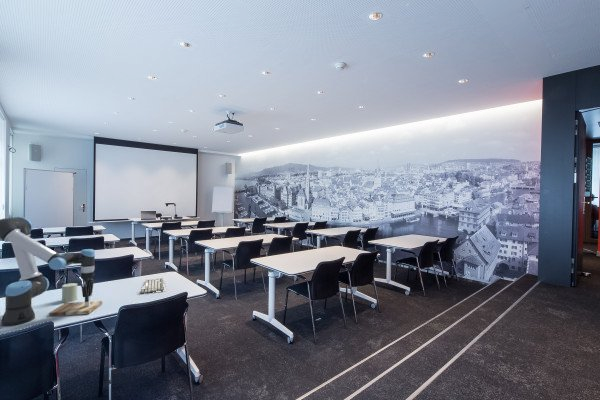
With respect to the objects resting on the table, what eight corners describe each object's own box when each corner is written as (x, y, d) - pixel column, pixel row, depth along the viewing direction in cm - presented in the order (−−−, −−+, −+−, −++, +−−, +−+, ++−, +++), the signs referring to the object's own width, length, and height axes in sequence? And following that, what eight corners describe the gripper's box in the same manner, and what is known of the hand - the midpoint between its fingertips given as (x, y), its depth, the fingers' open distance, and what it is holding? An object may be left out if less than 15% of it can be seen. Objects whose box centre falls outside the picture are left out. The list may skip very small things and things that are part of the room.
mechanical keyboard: (141, 282, 266) (141, 279, 266) (164, 280, 275) (164, 277, 275) (140, 295, 232) (140, 291, 232) (166, 292, 241) (166, 288, 241)
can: (59, 302, 211) (59, 286, 211) (65, 298, 220) (65, 282, 220) (73, 301, 214) (74, 285, 214) (79, 297, 223) (79, 282, 223)
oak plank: (65, 315, 190) (65, 312, 190) (80, 304, 208) (80, 302, 208) (89, 313, 193) (89, 310, 193) (102, 303, 210) (102, 301, 210)
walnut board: (48, 316, 188) (49, 312, 188) (65, 305, 206) (65, 302, 206) (64, 315, 190) (64, 311, 190) (79, 305, 208) (79, 301, 208)
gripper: (88, 274, 195) (88, 309, 195) (98, 269, 207) (98, 302, 208) (76, 274, 193) (76, 309, 193) (86, 269, 206) (86, 302, 206)
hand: (87, 305), depth 201 cm, fingers closed
